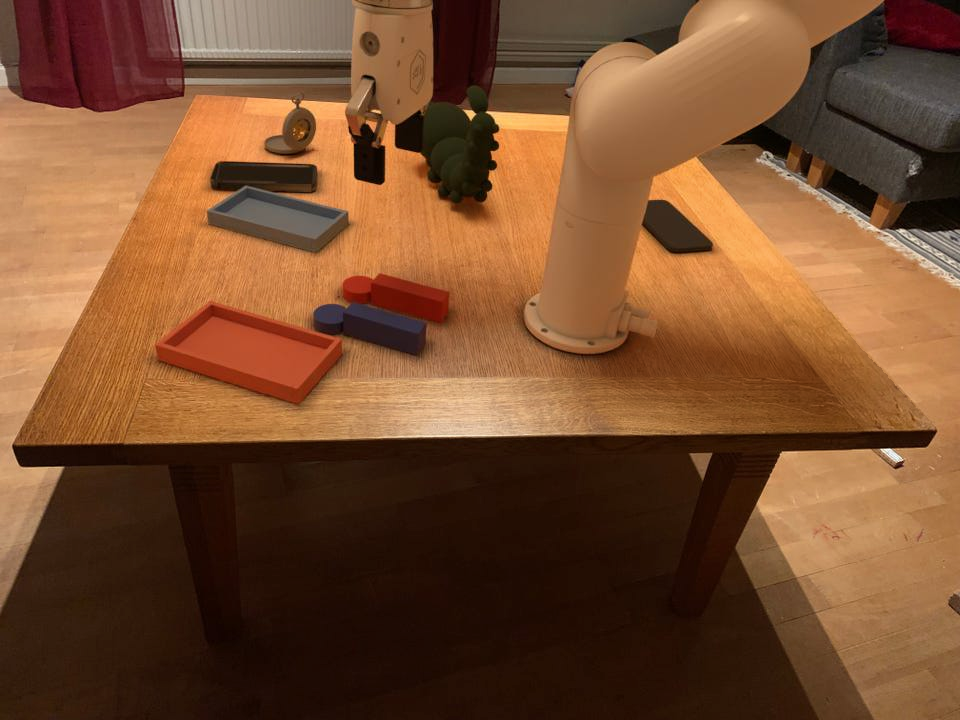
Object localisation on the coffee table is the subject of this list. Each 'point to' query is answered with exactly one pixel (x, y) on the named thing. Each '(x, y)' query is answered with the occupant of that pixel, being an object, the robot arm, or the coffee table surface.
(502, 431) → the coffee table surface
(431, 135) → the toy figurine
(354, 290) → the red spoon
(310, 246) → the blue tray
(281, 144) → the pocket watch
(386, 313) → the blue spoon
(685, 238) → the phone
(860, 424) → the coffee table surface
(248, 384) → the red tray
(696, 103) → the robot arm
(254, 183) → the phone
